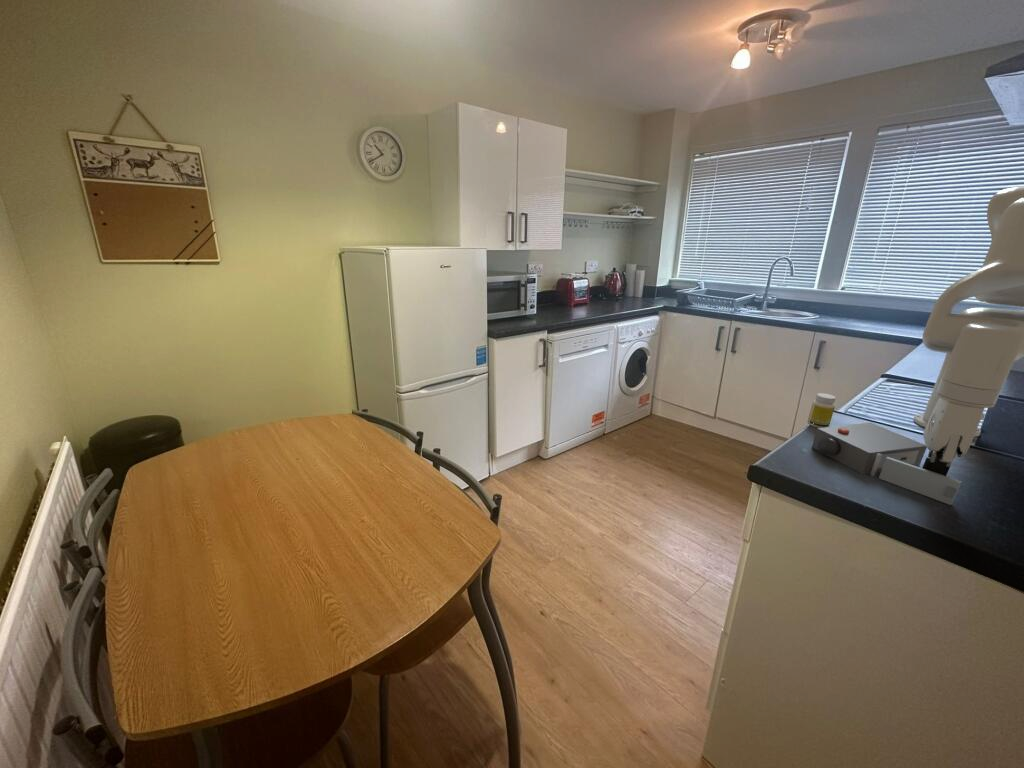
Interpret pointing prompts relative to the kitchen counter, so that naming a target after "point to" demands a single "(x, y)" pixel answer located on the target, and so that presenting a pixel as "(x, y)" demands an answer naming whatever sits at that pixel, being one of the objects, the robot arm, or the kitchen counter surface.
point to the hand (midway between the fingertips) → (930, 479)
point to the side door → (920, 480)
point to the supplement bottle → (822, 410)
